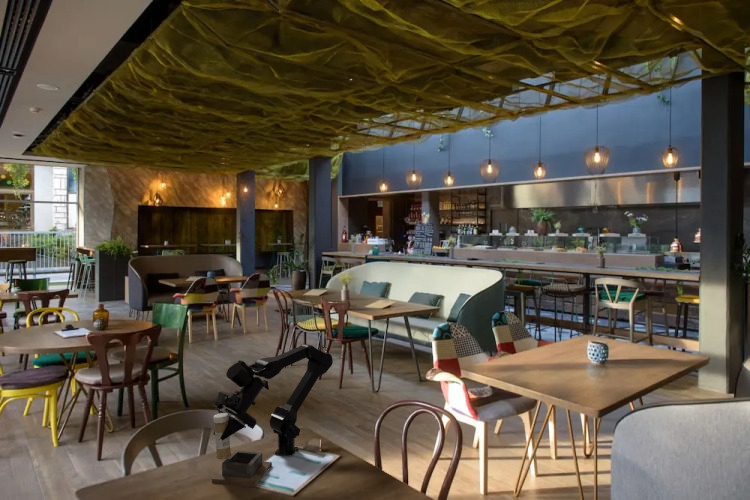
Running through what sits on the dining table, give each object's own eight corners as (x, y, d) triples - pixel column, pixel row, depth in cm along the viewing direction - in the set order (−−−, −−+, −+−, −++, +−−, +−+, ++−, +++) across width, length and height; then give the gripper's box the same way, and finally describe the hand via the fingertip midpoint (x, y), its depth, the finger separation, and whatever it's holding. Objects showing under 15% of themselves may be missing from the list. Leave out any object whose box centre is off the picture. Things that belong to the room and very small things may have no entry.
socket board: (232, 462, 174) (232, 446, 174) (271, 465, 172) (271, 450, 171) (211, 482, 161) (211, 466, 160) (254, 486, 158) (254, 470, 158)
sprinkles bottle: (229, 452, 167) (226, 411, 167) (232, 457, 163) (229, 415, 163) (214, 456, 165) (212, 414, 165) (217, 461, 161) (214, 418, 161)
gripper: (217, 374, 172) (186, 416, 166) (246, 388, 159) (213, 434, 152) (240, 392, 178) (211, 433, 172) (269, 406, 165) (239, 451, 158)
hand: (217, 437), depth 163 cm, fingers closed on sprinkles bottle, 4 cm apart
